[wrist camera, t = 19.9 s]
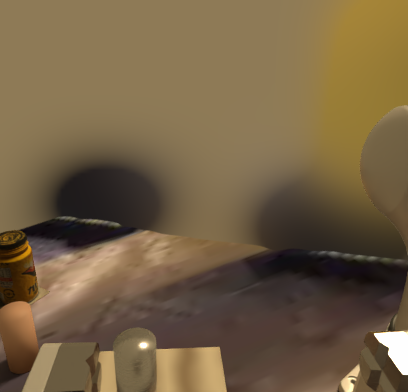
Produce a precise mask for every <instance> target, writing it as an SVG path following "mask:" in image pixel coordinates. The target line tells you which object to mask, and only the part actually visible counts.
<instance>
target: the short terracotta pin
mask: <svg viewBox="0 0 408 392" xmlns="http://www.w3.org/2000/svg"><path fill="white" fill-rule="evenodd" d="M0 333H1V337H2V341H3V345H4V349H5V353H6V357H7V362H8V366H9V369H10V371H11V372H13V373H15V374H22V373H26V372H29V371H30V370H31V369H32V366H33V364H34V362H35V359H36V357H37V355H38V352H39V348H38V343H37V338H36V333H35V327H34V322H33V317H32V312H31V307H30V305H29V304H28V303H27V302H23V301H18V302H13V303H10V304H7V305H5V306H4V307H2V308H1V309H0Z"/></svg>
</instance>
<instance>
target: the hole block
mask: <svg viewBox="0 0 408 392" xmlns="http://www.w3.org/2000/svg"><path fill="white" fill-rule="evenodd" d="M98 361H99V362H100V363H101V369H102V379H101V390H100V392H117V387H116V375H115V363H114V351H105V352H100V354H99V358H98ZM156 364H157V392H227V391H226V385H225V379H224V372H223V366H222V360H221V353H220V347H208V348H182V349H157V350H156Z"/></svg>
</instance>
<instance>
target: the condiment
mask: <svg viewBox="0 0 408 392" xmlns="http://www.w3.org/2000/svg"><path fill="white" fill-rule="evenodd" d="M49 292H50V291H47V290H45V289H43V288H41V287H39V286H38V283H37V277H36V272H35V267H34V261H33V254H32V249H31V247H30V246H29V245H28V242H27V236H26V234H25V233H24V232H22V231H16V230H14V231H6V232H3V233H0V309H1V308H2V307H4V306H5V305H7V304H10V303H13V302H18V301H23V302H27V303H28V304H29V305H31V304H33V303H34V302H35V301H37V300H38V299H40V298H42V297H43V296H45V295H46V294H48V293H49Z"/></svg>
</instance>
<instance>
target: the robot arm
mask: <svg viewBox="0 0 408 392" xmlns="http://www.w3.org/2000/svg"><path fill="white" fill-rule="evenodd" d="M360 174H361V179H362V183H363V186H364V189H365V191H366V193H367V195H368V197H369V199H370V200H371V202H372V203H373V204H374V206H375V207H376V208H377V209H378V210H379V211H380V212H381V213H382V214H384V215H385V216H386V217H387V218H388V219H389V220H390V221H391V222H392V223H393V224H394V226H395V227H396V228H397V230H398V231H399V233H400V234H401V236H402V238H403V240H404V242H405V245H406V248H407V254H408V105H406V106H399V107H396V108H394V109H392V110H391V111H390V112H389V113H387V114H386V115H385V116H384V117H383V118H382V119H381V120H380V121H379V122H378V123H377V124H376V125H375V126H374V128H373V129H372V131H371V132H370V134H369V135H368V137H367V139H366V142H365V144H364V146H363V150H362V153H361V160H360ZM364 343H365V344H366V346H367V347H366V348H365V349H364V350H363V351H362V352H361V353H360V358H359V364H358V365H357V366H356V367H355V368H354V369H353V370H352V371H351V372H350V373H349V374H348V375H347V376H345V377H344V378H343V379H342V380H341V382H340V384H339V387H338V388H339V392H408V274H407V279H406V284H405V288H404V293H403V296H402V300H401V304H400V307H399V311H398V313H396V314H395V315H394V316H393V318H392V319H391V322H390V324H389V326H388V327H387V330H386V331H376V332H368V333H367V334H366V336H365V339H364ZM99 354H100V350H99V344H98V343H47V344H43V346H42V347H41V348H40V350H39V352H38V355H37V357H36V359H35V362H34V364H33V366H32V369H31V371H30V373H29V376H28V378H27V380H26V383H25V385H24V388H23V390H22V392H100V390H101V379H102V369H101V363H100V362H99V361H98V358H99ZM352 383H353V384H355V385H353V384H352Z"/></svg>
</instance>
